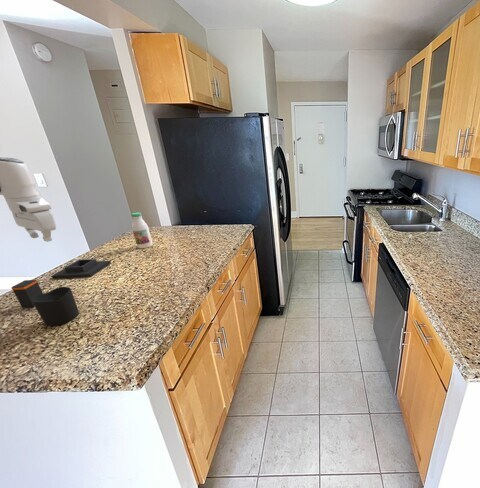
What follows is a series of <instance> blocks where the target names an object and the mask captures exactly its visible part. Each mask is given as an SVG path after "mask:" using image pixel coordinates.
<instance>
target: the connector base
mask: <svg viewBox="0 0 480 488" xmlns="http://www.w3.org/2000/svg"><path fill="white" fill-rule="evenodd" d="M111 264H112V262H111V260H99V261H98V260H97V259H96V258H85V259H84V258H83V259H77V260H76V261H74V262H72V263H70V264H68V265H67V266H65V267H64V268H63V269H60V270H59V271H57V272H55V273H53V274H52V275H51V278H52V279H54V280H55V279H73V278H76V279H77V278H91V277H93V276H94V275H96V274H97V273H99V272H101V271H102V270H103V269H105V268H106V267H108V266H110V265H111Z"/></svg>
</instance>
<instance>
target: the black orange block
mask: <svg viewBox="0 0 480 488" xmlns="http://www.w3.org/2000/svg"><path fill="white" fill-rule="evenodd" d="M10 288H11V290H12V291H13V293H14V295H15V297H16V299H17V300H18V303H19V304H20V306H21V308H22V309H30V308H31V309H32V308H35V306H34V304H33V303H32V301H31V299H32V298H33V297H34V296H36V295H40V294H44V292H43V291H42V289H41V287H40V284H39V282H38V280H37V279H24V280H23V281H21V282H19V283H16V284H15V285H13V286H11V287H10Z"/></svg>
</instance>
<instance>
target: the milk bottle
mask: <svg viewBox="0 0 480 488" xmlns="http://www.w3.org/2000/svg"><path fill="white" fill-rule="evenodd" d="M130 215H131V218H132V224H131V230H132V234H133V237H134V241H135V245H136V247H137V249H147V248H148V249H149V248H150V247H152V246H153V245H154V243H153V240H152V236H151V232H150V229H149V226H148V224H147V222H146V221H145V220H144V219H143V215H142V212H132V213H131V214H130Z"/></svg>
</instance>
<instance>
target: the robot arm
mask: <svg viewBox="0 0 480 488" xmlns="http://www.w3.org/2000/svg"><path fill="white" fill-rule="evenodd" d="M36 182H37V181H36V180H35V178H34V175H33V173H32V171H31V170H30V167H29V166H28V165H27V164H26V162H25V161H23V160H21V159H18V158H14V157H13V158H12V157H0V196H3V197H4V198H3V199H4V201H5V203H6V204H7V206H8V208H9V211H10V212H11V214H12V218H13V220H14V222H15V224H16V225H17V226H18V227H22V228H24V230H25V231H26V232H27V233H28V234H29V237H30V238H31V239H37V238H39V237H40V236H39V233H38V232H41V234H42V239H43V241H44V242H46V243H47V242H48V243H49V242H52V241H53V238H52V231H56V230H57V224H56V221H55V218H54V215H53V213H52V211H51V210H52V206H51V204H50V203H49V202H48V201H45V199H44V197H42V195H41V193H40V192H39V190H38V189H37V183H36Z"/></svg>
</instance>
